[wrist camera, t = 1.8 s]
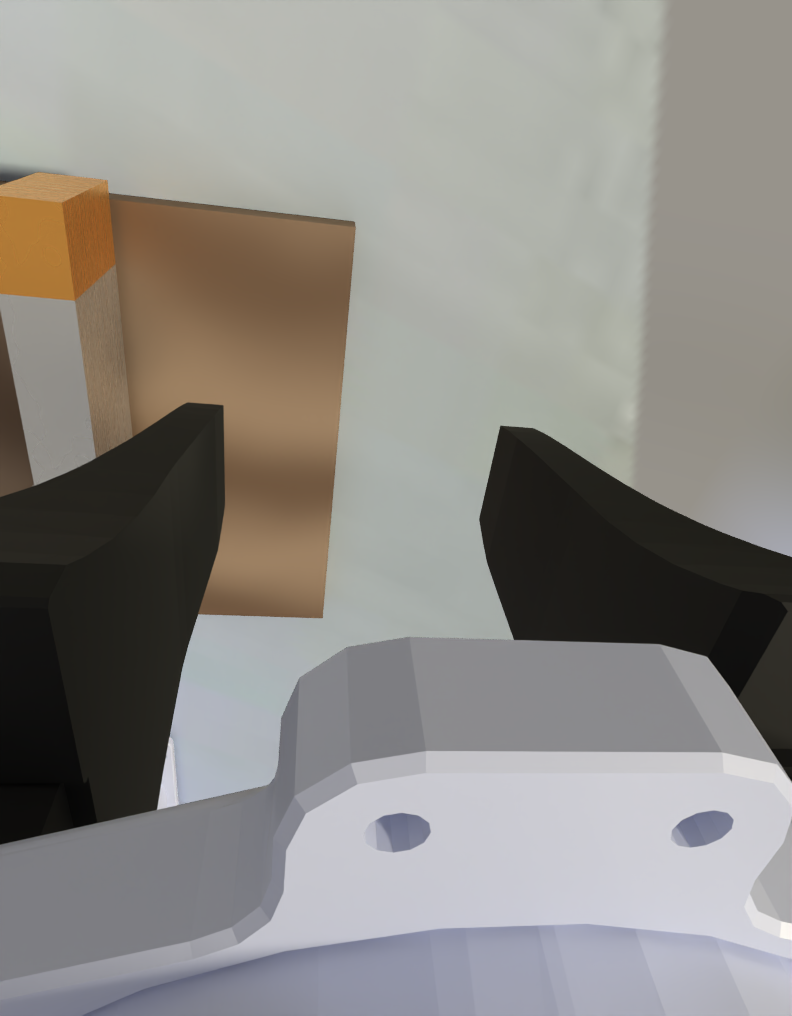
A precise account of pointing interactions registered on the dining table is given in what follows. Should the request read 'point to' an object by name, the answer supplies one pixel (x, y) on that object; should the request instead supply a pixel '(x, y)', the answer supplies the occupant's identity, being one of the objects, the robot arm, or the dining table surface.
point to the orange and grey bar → (63, 320)
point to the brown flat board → (234, 378)
